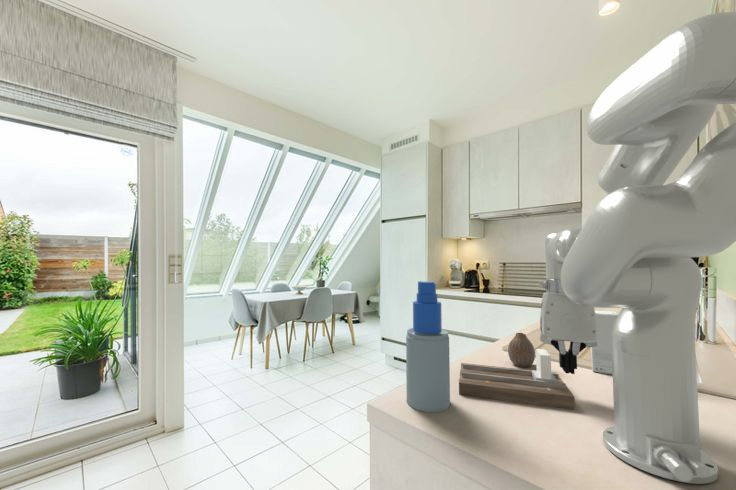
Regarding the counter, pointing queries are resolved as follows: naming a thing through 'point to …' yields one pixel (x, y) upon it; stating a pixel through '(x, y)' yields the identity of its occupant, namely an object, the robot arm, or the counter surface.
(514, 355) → the vase
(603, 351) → the skincare box
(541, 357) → the fader slider
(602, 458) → the counter surface
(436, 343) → the spray bottle
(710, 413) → the counter surface
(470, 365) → the fader console
